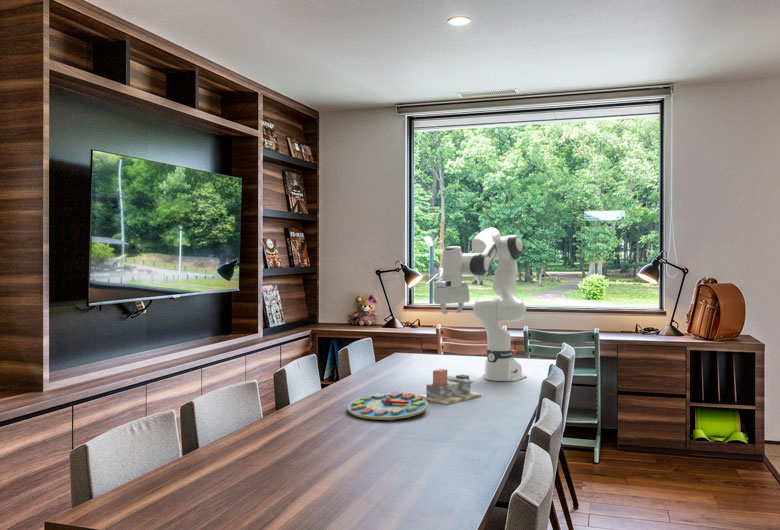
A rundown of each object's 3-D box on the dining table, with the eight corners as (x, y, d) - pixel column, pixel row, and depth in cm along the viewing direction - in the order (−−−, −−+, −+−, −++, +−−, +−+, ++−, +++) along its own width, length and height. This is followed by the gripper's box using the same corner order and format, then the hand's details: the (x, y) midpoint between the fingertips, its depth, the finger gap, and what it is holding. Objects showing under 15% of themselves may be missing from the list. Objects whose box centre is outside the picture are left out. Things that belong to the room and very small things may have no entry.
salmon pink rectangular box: (440, 390, 266) (440, 368, 265) (447, 391, 263) (447, 369, 263) (432, 392, 261) (432, 370, 261) (439, 393, 259) (439, 371, 259)
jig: (453, 390, 280) (453, 372, 280) (481, 396, 268) (481, 377, 268) (418, 397, 265) (418, 378, 265) (446, 404, 253) (446, 384, 253)
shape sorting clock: (331, 412, 241) (331, 397, 241) (385, 399, 263) (386, 385, 263) (390, 427, 220) (390, 410, 220) (444, 412, 242) (444, 396, 242)
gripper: (462, 281, 290) (462, 311, 291) (431, 282, 277) (431, 314, 277) (472, 282, 286) (472, 312, 286) (441, 283, 272) (441, 315, 272)
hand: (452, 313), depth 281 cm, fingers open, 8 cm apart
